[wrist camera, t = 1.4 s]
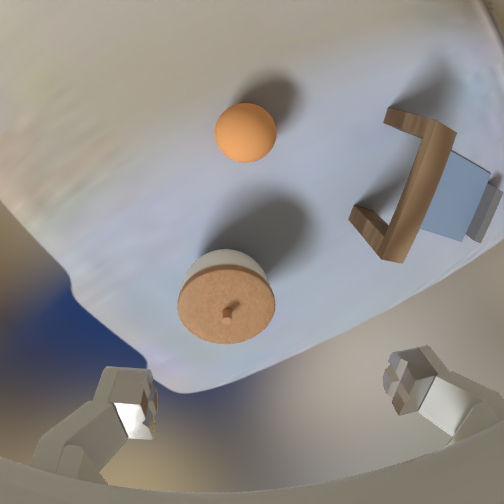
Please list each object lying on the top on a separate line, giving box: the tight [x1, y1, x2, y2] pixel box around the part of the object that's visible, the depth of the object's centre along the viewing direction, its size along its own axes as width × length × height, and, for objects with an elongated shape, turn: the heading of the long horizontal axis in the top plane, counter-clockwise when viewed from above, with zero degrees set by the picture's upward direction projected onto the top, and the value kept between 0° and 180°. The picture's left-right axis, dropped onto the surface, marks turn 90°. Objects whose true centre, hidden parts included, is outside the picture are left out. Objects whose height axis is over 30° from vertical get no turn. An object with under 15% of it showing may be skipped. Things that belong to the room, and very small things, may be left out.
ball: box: [215, 103, 277, 163], centre depth 30 cm, size 6×6×6 cm
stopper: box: [466, 183, 503, 243], centre depth 40 cm, size 9×2×2 cm, turn 165°
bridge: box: [348, 108, 457, 264], centre depth 32 cm, size 3×15×10 cm, turn 165°
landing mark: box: [420, 151, 491, 242], centre depth 39 cm, size 12×12×1 cm
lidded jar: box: [178, 249, 275, 344], centre depth 37 cm, size 11×11×9 cm
